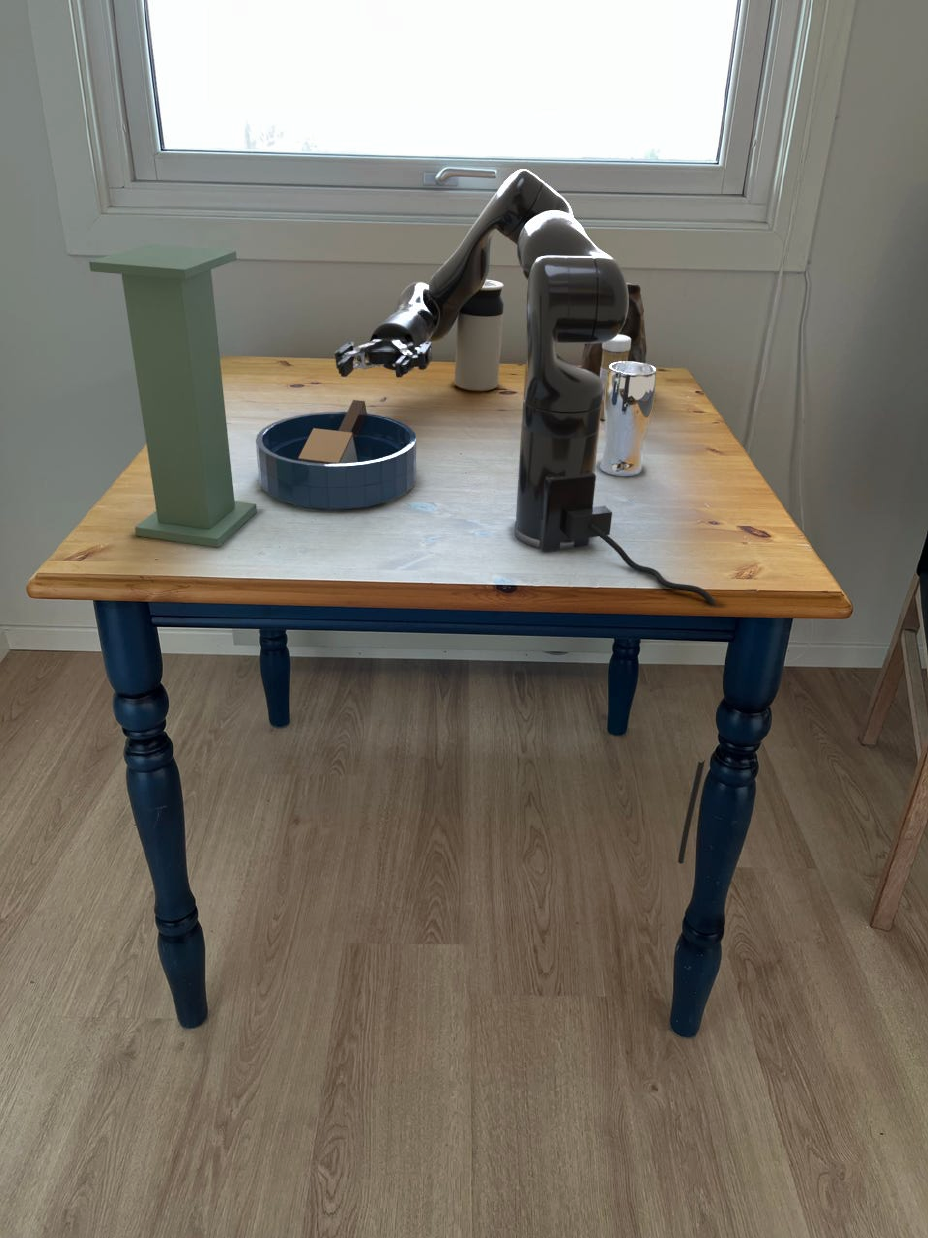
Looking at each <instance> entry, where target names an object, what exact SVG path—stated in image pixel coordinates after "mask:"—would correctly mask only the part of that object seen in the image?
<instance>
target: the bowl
mask: <svg viewBox="0 0 928 1238" xmlns="http://www.w3.org/2000/svg"><path fill="white" fill-rule="evenodd" d="M347 412H348V411H324V412H323V411H322V412H310V413H305V414H298V415H294V416H289V417H286V418H282V419H280V420H277V421H274V422H272V423H270V424H268V425H267V426H265V427H264V428H262V429H261V430H260V431H259V433H258V434H257V435H256V438H255V449H256V459H257V460H256V461H257V470H258V482H259V484H260V487H261V489H262V490H263V491H264V492H265V493H267V494H268V496H271V497H272V498H275V499H277V500H278V501H280V502H285V503H288V504H291V505H293V506H298V507H302V508H307V509H313V510H315V509H316V510H324V511H325V510H327V511H341V510H342V511H343V510H346V511H347V510H355V509H356V510H357V509H363V508H369V507H374V506H378V505H382V504H384V503H387V502H389V501H392V500H395V499H397V498H399V497H401V496H403V495H405V494H406V493H408V492H409V491H410V490H411V489H412V488H413V487H414V486H415V483H416V481H417V435H416V432H415V431H414V430H413V429H412V428H411V427H410V426H408V425H407V424H405V423H404V422H402V421H399V420H396V419H393V418H391V417H388V416H383V415H379V414H373V413H367V416H366V418H365V420H364V422H363V424H362V426H361V429H360V431H359V433H358V435H357V437H356V439H355V442H354V446H355V451H356V456H357V461H358V463H349V464H318V463H308V462H302V461H299V459H298V458H299V456H300V454H301V452H302V450H303V448H304V446H305V444H306V442H307V440H308V438H309V436H310V434H311V432H312V430H313V428H315V429H324V430H333V431H338V430H339V428H340V426H341V424H342V422H343V420H344V418H345V416H346V414H347Z"/></svg>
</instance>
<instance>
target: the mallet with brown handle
mask: <svg viewBox="0 0 928 1238" xmlns="http://www.w3.org/2000/svg"><path fill="white" fill-rule="evenodd" d="M346 412H347V414H346V416H345V418H344V420H343V422H342V424H341V426H340V428H339V430H338V431H333V430H324V429H315V428H313V430H312V432H311V434H310V436H309V438H308V440H307V442H306V444H305V446H304V448H303V450H302V452H301V454H300V456H299V458H298V459H299V461H302V462H308V463H318V464H349V463H358V461H357V456H356V451H355V446H354V442H355V439H356V437H357V435H358V433H359V431H360V429H361V426H362V424H363V422H364V420H365V418H366V416H367V414H368V411H367V406H366V401H365V400H358V399H352V401H351V403H350V405H349V408H348V409H347V411H346Z"/></svg>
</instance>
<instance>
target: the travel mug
mask: <svg viewBox="0 0 928 1238" xmlns="http://www.w3.org/2000/svg"><path fill="white" fill-rule="evenodd" d="M504 285H505V284H504V283H502V282H500V281H497V280H493V279H492V280H491V279H486V282H485V283H484V285H483V287H482V288H481V289H480V290H479V291H478V292H477V293H476V294H475V295H474V296H473V297H472V298H471V299H470V300H469V301H468V302H467V303H466V304H465V305H464V306H463V307H462V309H461V310H460V312H459V314H458V317H457V319H456V341H455V358H454V360H455V361H454V377H453V378H454V379H453V380H454V381H453V383H454V385H455V386H457V387H458V388H461V389H462V390H467V391H472V392H486V391H491V390H494V389H495V388H497V387H498V386H499V385H498V384H499V376H500V375H499V374H500V373H499V372H500V358H501V345H502V333H503V331H502V330H503V319H504V305H505V304H504V301H503V299H502V296H501V295H502V290H503V288H504V287H505V286H504Z"/></svg>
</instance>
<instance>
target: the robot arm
mask: <svg viewBox="0 0 928 1238" xmlns="http://www.w3.org/2000/svg"><path fill="white" fill-rule="evenodd" d="M495 231H497V232H498V233H500V234H501V236H503V237H504V238H506V239H507V240H509V242H511V243H512V244H514V245H515V246H516V255H517V260H518V264H519V267H520V269H521V270H522V273H523V275H524V277H525V279H526V280H527V287H526V345H525V347H526V350H525V368H524V387H523V399H522V415H521V416H522V417H521V427H520V428H521V430H520V443H519V444H520V447H519V459H518V460H519V461H518V477H517V492H516V513H515V521H514V529H513V530H514V535H515V536H516V538H518V539H519V540H520V542H523V543H525V544H526V545H529V546H532V547H536V548H539V549H540V550H541V551H542V552H552V551H558V550H559V551H560V550H568V549H575V548H582V547H588V546H590V538H597V537H599V538H600V539H601V540H602V541H604V542H605V543H606V544H607V545H609V546H610V547H611V548H612V549H613V550H614V551H615V552H616V553H617V554H618V555H619V556H620V557H621V559H622V560H623V562H624V563H625V564H627V566H629V567H630V568H631V569H633V570H635V571H637V572H640V573H645V574H649V575H651V576H652V577H654V578H655V579H656V581H657V583H658V584H660V585H661V586H663V587H664V588H667V589H670V590H675V591H683V592H691V593H695V594H698V595H699V596H701V597H702V598H703V599H704V600H705V601H706V602H707V604H708V605H709V606H712V607H715V606H717V602H716V601H715V600H714V597H712V595H711V594H710V593H708V591H706V590H705V589H703V588H701V587H700V586H696V585H692V584H685V583H676V582H671V581H669V580H667V579H665V578H664V577H663V575H662V574H661V573H660V572H659V571H658V570H657V569H654V568H652V567H650V566H649V567H648V566H645V565H641V564H638V563H637V562H635V561H634V560H633V559H632V558H630V556H629V555H628V554H627V553H626V551H625V550H624V548H622V547H621V546H620V545H619V544H618V543H617V542H616V541H615V540H613V539H612V538H611V537H610V535H611V526H612V518H613V511H612V510H610V509H609V507H607V506H606V505H600V506H599V505H598V506H594V499H595V492H596V491H595V490H596V483H597V482H596V481H597V475H596V473H595V472H596V463H597V453H598V443H599V436H600V435H599V434H600V428H601V426H600V425H601V419H600V418H601V408H602V400H603V389H604V387H603V382H602V380H601V378H600V377H599V376H597V375H596V374H595V373H593V372H591V371H589V370H586V369H584V368H582V367H581V366H578V365H575V364H573V363H572V362H569V361H568V360H565V358H562V357H561V356H560V355H559V354H558V353H557V351H556V346H557V345H558V344H575V345H576V344H583V345H584V344H597V343H603V342H607V341H609V340H612V339H613V338H614V337H616V336H617V335H618V334H619V332H620V331H621V329H622V328H623V326H624V324H625V321H626V318H627V314H628V308H629V294H628V287H627V283H628V282H627V278H626V276H625V273H624V270H623V269H622V267H621V264H620V263H619V262H618V260H616V259H615V258H614V257H612V256H611V255H609V254H607V253H606V252H604V251H603V250H601V249H600V248H599V247H597V245H596V244H595V243H594V242H593V240H591V239H590V238H589V236H588V233H587V232H586V231H585V229H584V228H583V226H582V225H581V224H580V222H578V221H577V220H576V218H574V215H573V210H572V208H571V206H570V204H569V203H568V202H567V200H566V199H565V198H564V197H563V196H562V195H560V194H559V193H558V192H557V191H556V190H554V189H553V188H552V187H551V186H550V185H548V184H547V183H545V181H543V180H542V179H540V178H539V177H538V176H537V175H536V174H534V173H532V172H531V171H530V170H527V169H519V170H517V171H515V172H514V173H512V174H511V175H510V176H509V177H508V178H507V179H506V180H505V181H504V182H503V184H501V186H500V187H499V188H498V189H497V191H496V192H495V193H494V195H493V196H492V197H491V199H490V200H489V202H488V203H487V205H486V206H485V208H484V209H483V210H482V212H481V213H480V214H479V216H478V217H477V219H476V220H475V222H474V223H473V224H472V226H471V228H470V229H469V230H468V232H467V234H466V235H465V237H464V238H463V240H462V242H461V243H460V245H459V246H458V247H457V249H456V250H455V251H454V252H453V254H452V255H450V257H449V258H448V259H447V260H446V261H445V262H444V263H443V264H442V265H441V266H440V268H438V270H437V271H436V272H435V273H434V274H433V275H431V278H430V279H429V281H428V283H426V282H424V281H414V282H412V283H410V284H408V286H406V287H405V289H404V290H403V291H402V292H401V294H400V296H399V297H398V299H397V302H396V305H395V311H394V313H393V314H391V315H389V316H388V317H387V318H386V319H385V320H383V322H381V324H379V326H377V327H376V328H375V329H374V331H373V332H372V334H371V336H370V339H369V341H368V342H367V343H364V344H359V345H357V346H355V342H354V341H348V342H346V343H345V344H343V345H342V346H341V347H339V348H338V349H337V350H335V351H334V352H333V353H334V359H335V360H334V361H335V366H336V367H335V368H336V369H337V370H338V374H339V375H340V376H341V378H347V377H348V376H349V375H350V374H351V373H352V372H353V371H355V370H358V369H361V370H364V371H365V370H368V369H371V368H374V367H375V368H376V367H377V368H380V367H383V368H385V369H387V370H390V371H395V378H402V377H403V376H404V375H407V374H408V373H409V372H412V371H414V370H415V368H418V370H420V371H424V370H426V369H427V368H428V367H429V365H430V363H431V362H432V361H433V349H432V344H434V343H435V344H436V343H439V342H441V341H443V340H444V339H446V337H447V336H448V335H450V333H451V332H452V330H453V328H454V326H455V324H456V323H457V318H458V314H459V312H460V310H461V309H462V307H463V306H464V305H465V304H466V303H467V302H468V301H469V300H470V299H471V298H472V297H473V296H474V295H475V294H476V293H477V292H478V291H479V290H480V289H481V288H482V287H483V285H484V283H485V282H486V280H488V277H489V272H490V266H491V264H490V263H491V245H492V239H493V236H494V233H495ZM366 361H367V362H366ZM705 763H706V760H705V759H704V760H703V761H701V762H700V761H698V763H697V767H696V772H695V776H694V780H693V785H692V789H691V794H690V797H689V801H688V802H689V803H688V807H687V810H686V815H685V820H684V825H683V830H682V834H681V835H682V836H681V841H680V845H679V853H678V858H677V863H678V864H684V862H685V855H686V851H687V850H686V849H687V844H688V839H689V834H690V829H691V825H692V821H693V816H694V811H695V806H696V802H697V798H698V793H699V789H700V785H701V781H702V775H703V771H704V767H705Z"/></svg>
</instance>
